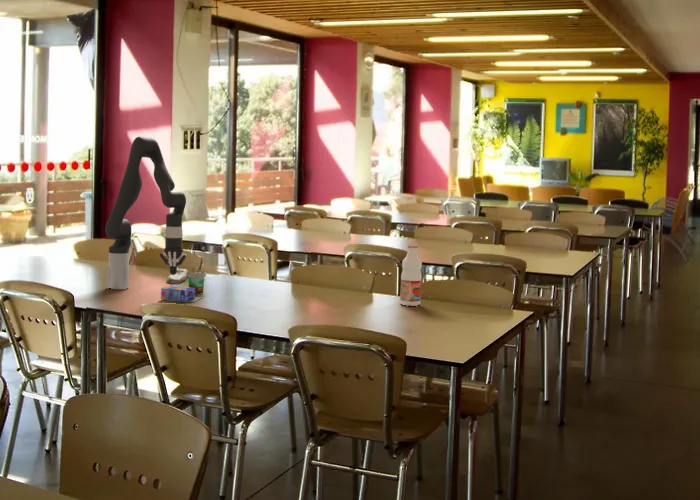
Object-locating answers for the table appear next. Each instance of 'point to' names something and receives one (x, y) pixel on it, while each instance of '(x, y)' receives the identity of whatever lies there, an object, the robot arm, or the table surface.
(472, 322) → the table surface
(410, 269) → the fruit juice
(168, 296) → the ink cartridge box
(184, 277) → the long grey stone
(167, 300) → the mat
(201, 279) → the food container
